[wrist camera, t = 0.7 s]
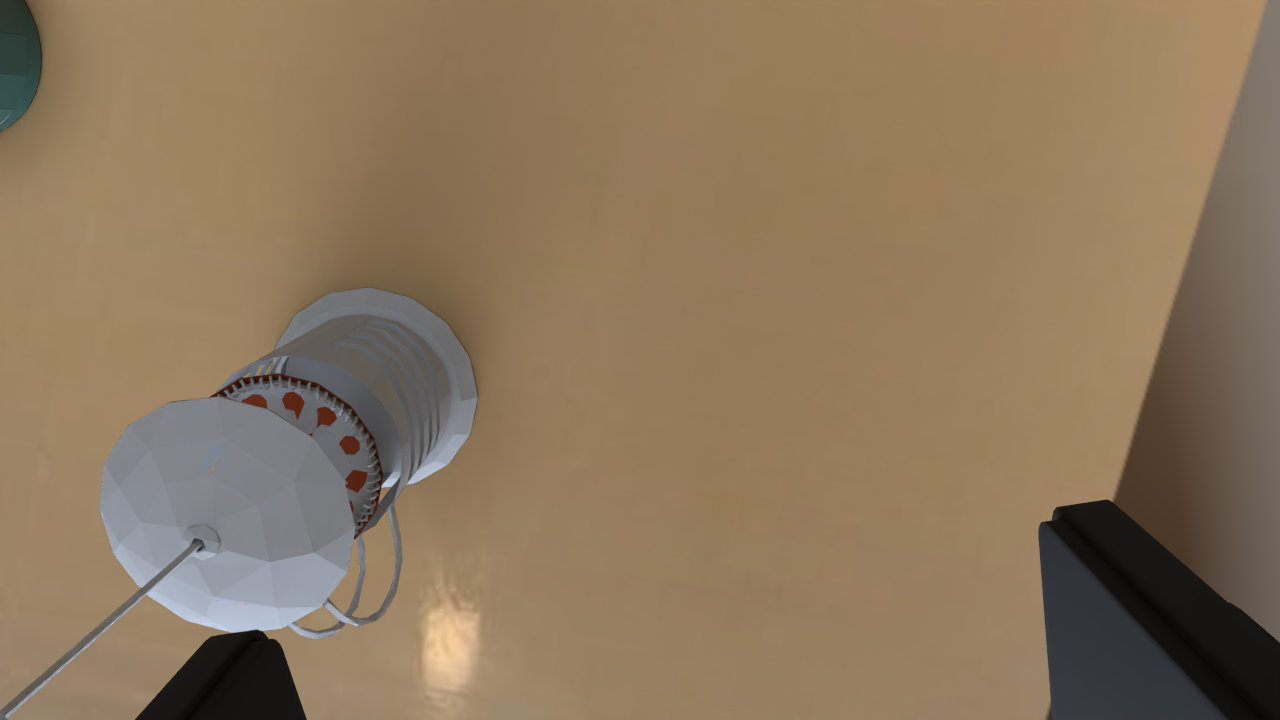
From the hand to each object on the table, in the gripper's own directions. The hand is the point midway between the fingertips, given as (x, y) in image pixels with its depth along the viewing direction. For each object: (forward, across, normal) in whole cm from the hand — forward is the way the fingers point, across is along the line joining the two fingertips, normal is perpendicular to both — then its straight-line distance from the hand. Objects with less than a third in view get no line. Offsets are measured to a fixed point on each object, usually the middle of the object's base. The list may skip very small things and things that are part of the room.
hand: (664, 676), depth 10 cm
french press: (+29, +14, +4) cm, 33 cm away
